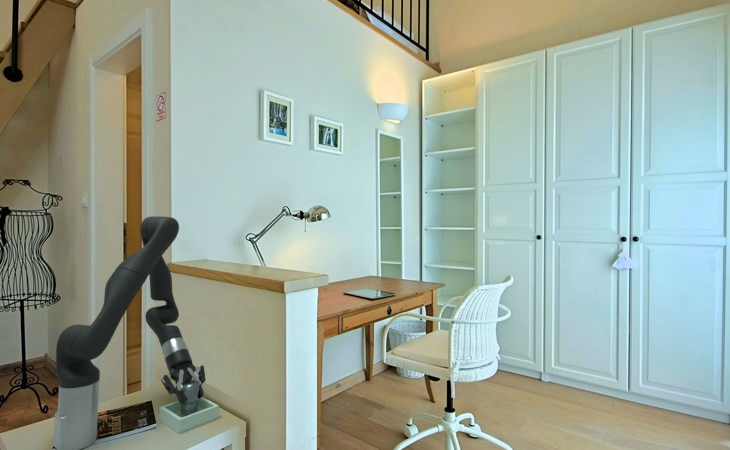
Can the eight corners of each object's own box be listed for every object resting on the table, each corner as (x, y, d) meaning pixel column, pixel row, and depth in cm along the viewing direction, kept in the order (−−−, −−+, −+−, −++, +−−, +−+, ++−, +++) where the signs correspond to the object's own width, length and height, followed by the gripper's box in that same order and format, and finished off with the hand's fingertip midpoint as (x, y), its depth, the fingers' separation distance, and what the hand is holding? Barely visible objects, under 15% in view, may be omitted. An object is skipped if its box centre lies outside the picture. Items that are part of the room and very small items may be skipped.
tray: (178, 433, 114) (179, 420, 114) (159, 419, 122) (159, 407, 122) (218, 417, 124) (218, 405, 124) (197, 406, 132) (198, 394, 132)
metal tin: (184, 416, 119) (186, 388, 119) (177, 411, 123) (178, 383, 123) (200, 411, 123) (202, 383, 123) (193, 406, 127) (194, 379, 127)
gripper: (158, 353, 122) (174, 401, 115) (200, 344, 134) (218, 387, 126) (150, 365, 125) (165, 413, 118) (192, 355, 137) (208, 398, 129)
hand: (192, 399), depth 122 cm, fingers closed on metal tin, 5 cm apart
